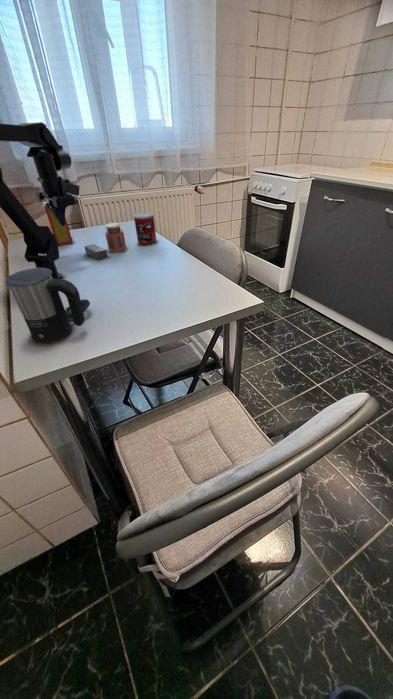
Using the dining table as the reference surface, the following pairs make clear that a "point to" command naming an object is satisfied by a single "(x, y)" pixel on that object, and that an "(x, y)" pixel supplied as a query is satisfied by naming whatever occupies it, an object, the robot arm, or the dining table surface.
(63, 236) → the baking soda box
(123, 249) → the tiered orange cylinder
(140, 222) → the canned food
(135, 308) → the dining table surface
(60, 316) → the milk frother
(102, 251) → the walnut block
